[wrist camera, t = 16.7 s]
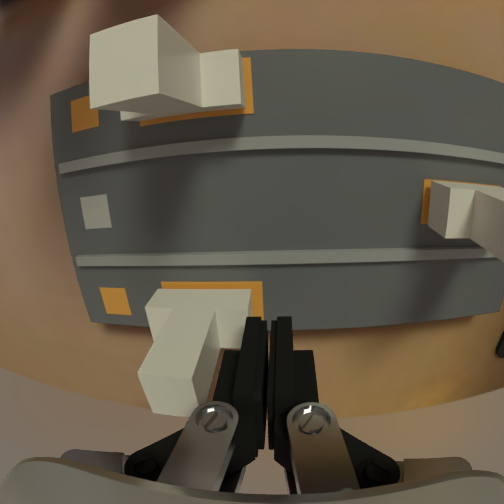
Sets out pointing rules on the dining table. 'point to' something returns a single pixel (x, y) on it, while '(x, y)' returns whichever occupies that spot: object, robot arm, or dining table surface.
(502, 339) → the phone
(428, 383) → the dining table surface
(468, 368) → the dining table surface
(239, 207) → the switch panel
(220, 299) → the back switch tab
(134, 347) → the dining table surface
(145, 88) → the front switch tab
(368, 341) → the dining table surface
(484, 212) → the middle switch tab
